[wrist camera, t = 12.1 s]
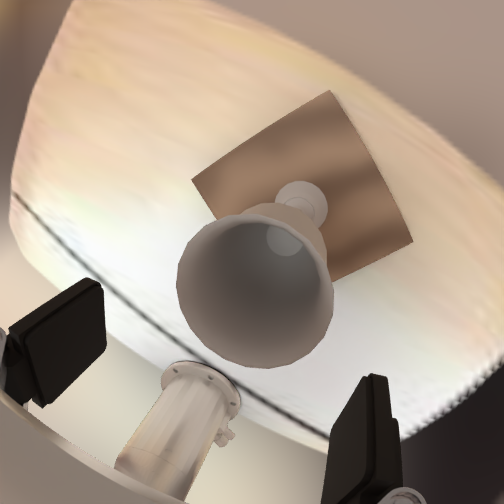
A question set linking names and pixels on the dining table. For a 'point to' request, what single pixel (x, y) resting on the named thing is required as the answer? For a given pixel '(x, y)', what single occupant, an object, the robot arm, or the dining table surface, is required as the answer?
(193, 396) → the robot arm
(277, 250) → the chalice
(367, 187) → the serving board
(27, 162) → the dining table surface
